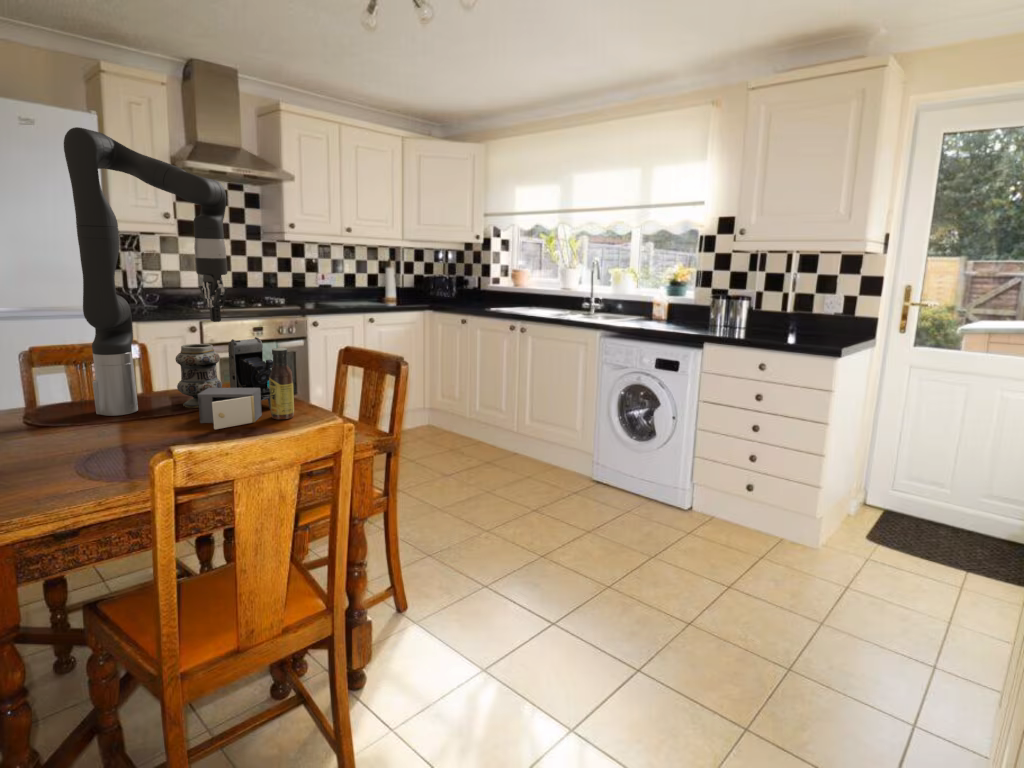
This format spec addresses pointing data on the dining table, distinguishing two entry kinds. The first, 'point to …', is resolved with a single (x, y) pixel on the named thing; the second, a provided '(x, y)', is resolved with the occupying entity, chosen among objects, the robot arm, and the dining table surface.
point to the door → (233, 412)
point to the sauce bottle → (281, 386)
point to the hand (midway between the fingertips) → (215, 321)
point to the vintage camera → (249, 366)
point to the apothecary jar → (197, 371)
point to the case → (225, 394)
